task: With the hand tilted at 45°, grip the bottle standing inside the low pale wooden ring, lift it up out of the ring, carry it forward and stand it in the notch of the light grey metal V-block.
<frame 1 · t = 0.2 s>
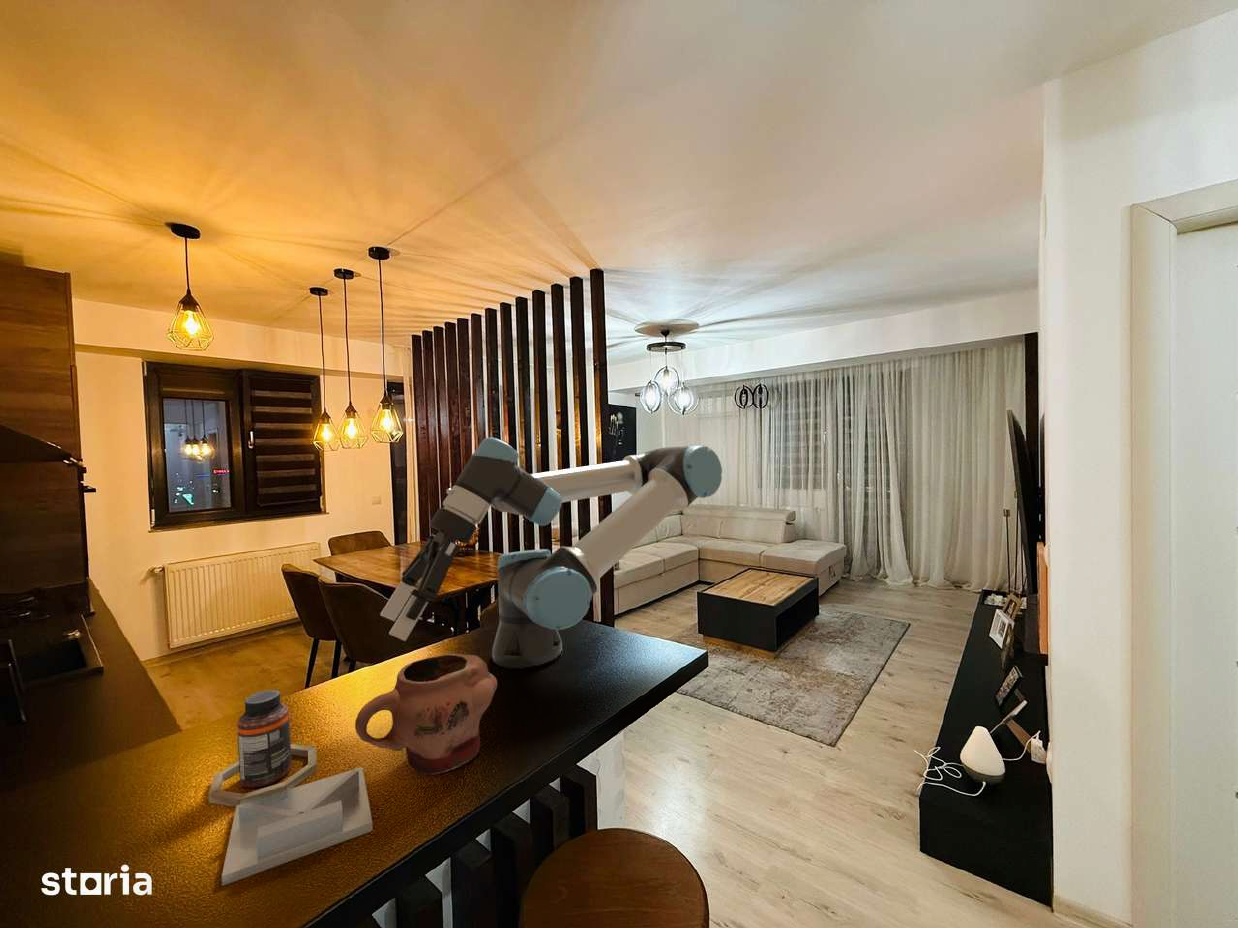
hand: (391, 627, 86), 16 cm above the breakfast bar, tool tilted 35°, fingers open, 13 cm apart
supplement bottle: (266, 777, 71), resting in wooden collar
sculpted ceramic mug: (433, 763, 73), on the breakfast bar
v-block: (302, 816, 62), on the breakfast bar
wooden collar: (266, 776, 71), on the breakfast bar
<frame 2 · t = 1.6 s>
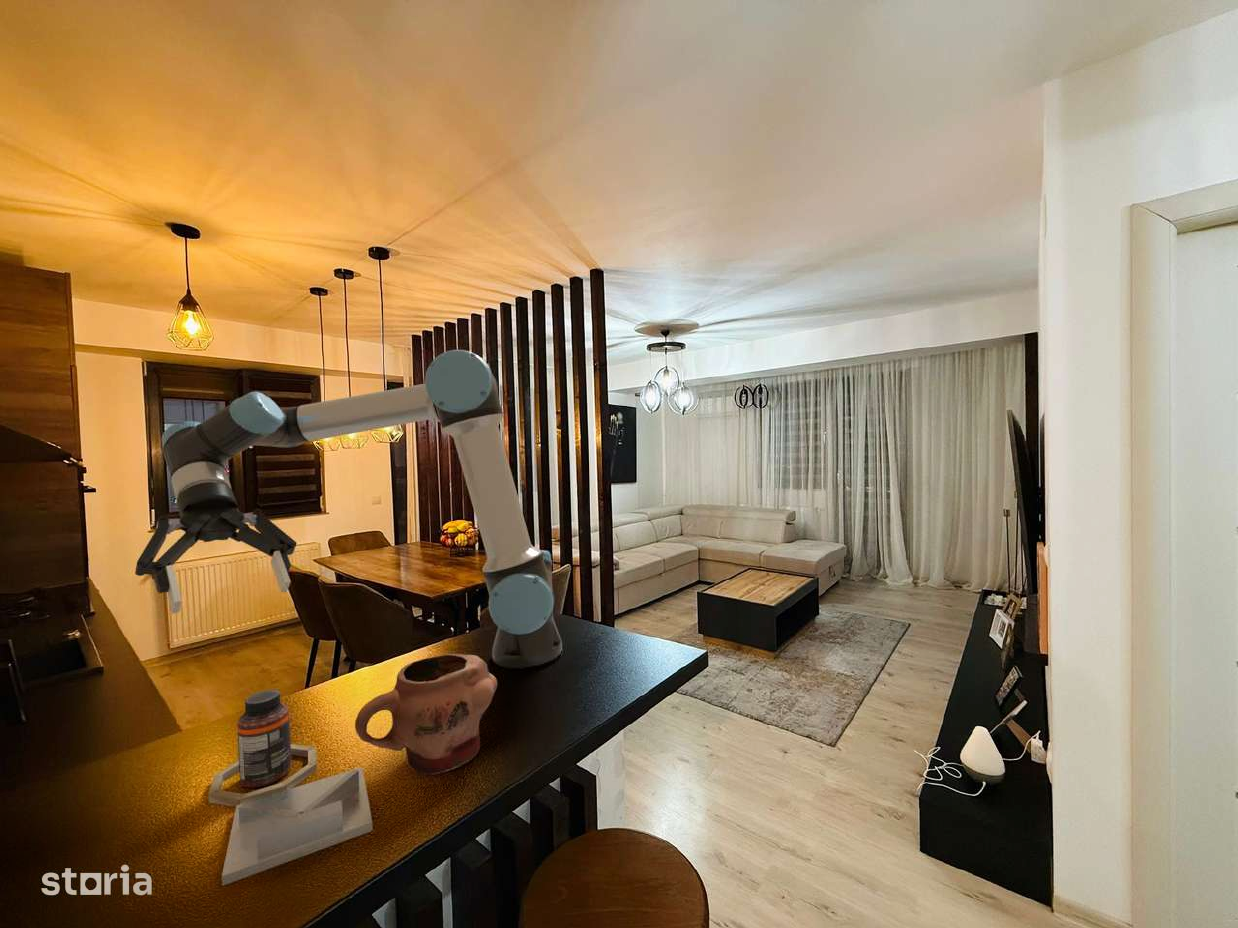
hand: (235, 596, 77), 24 cm above the breakfast bar, tool tilted 45°, fingers open, 13 cm apart
nothing on the breakfast bar moved.
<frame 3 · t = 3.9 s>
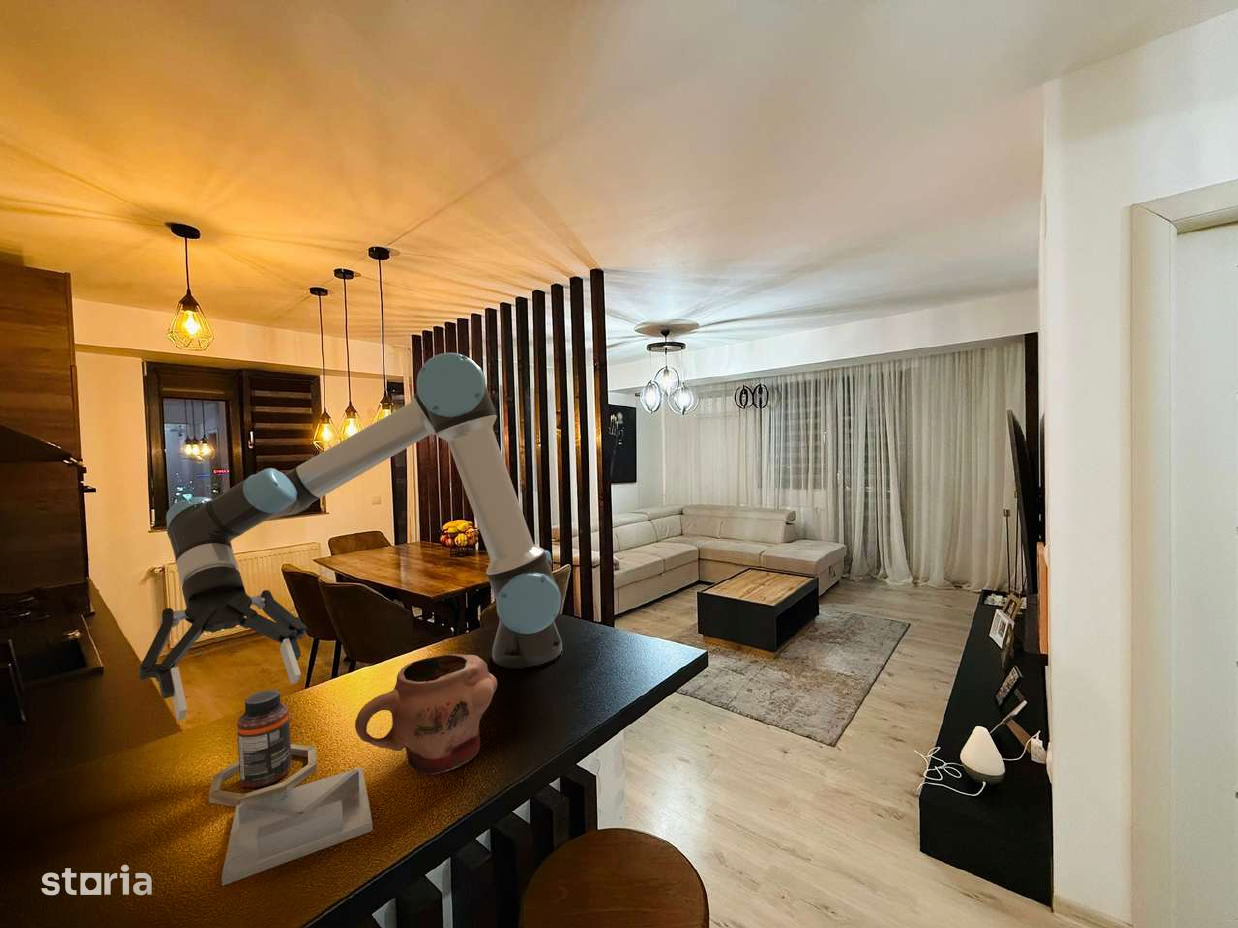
hand: (243, 696, 73), 10 cm above the breakfast bar, tool tilted 45°, fingers open, 13 cm apart
nothing on the breakfast bar moved.
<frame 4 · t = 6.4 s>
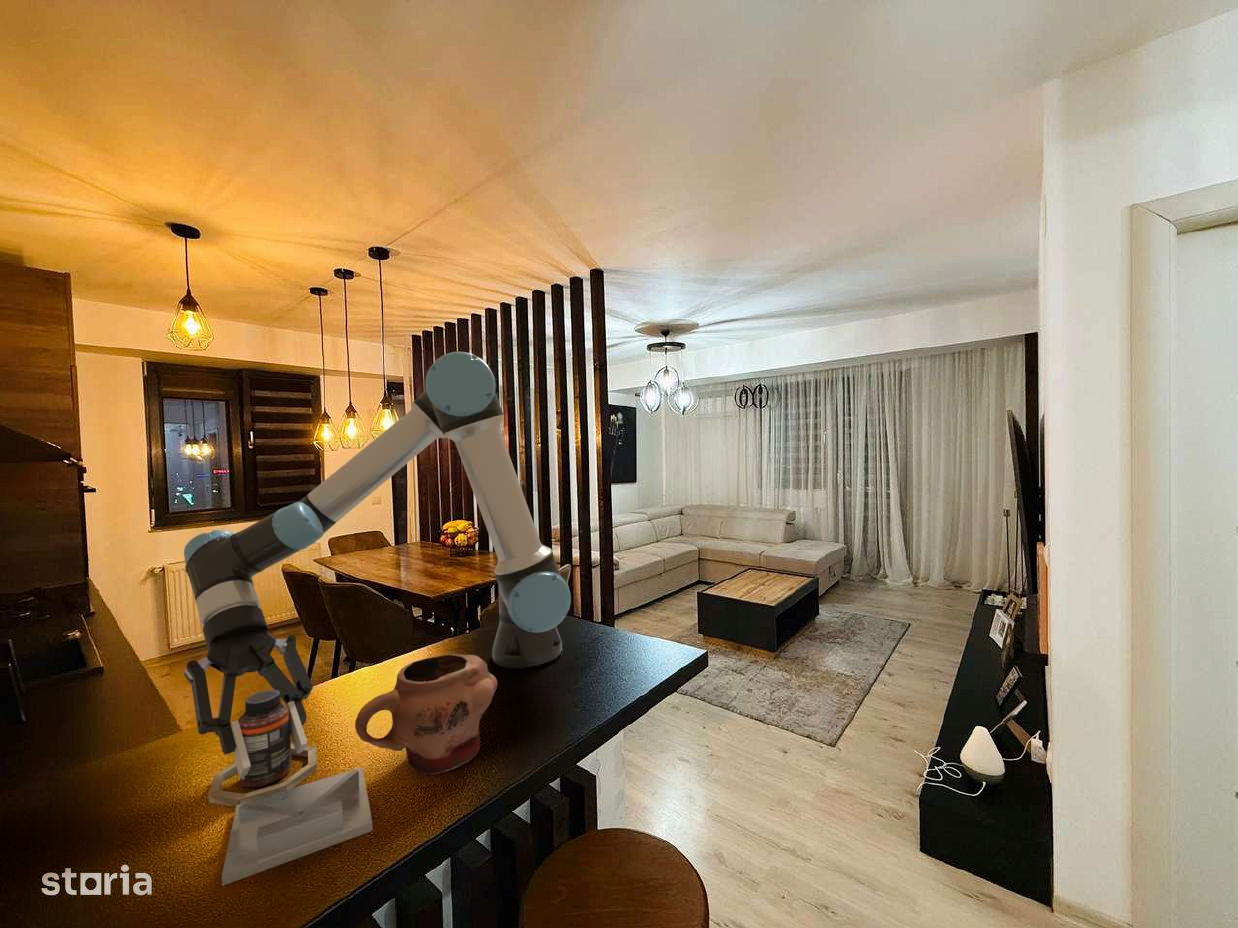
hand: (274, 759, 69), 4 cm above the breakfast bar, tool tilted 45°, fingers closed on supplement bottle, 6 cm apart
supplement bottle: (266, 777, 71), resting in wooden collar, touching gripper
everything else where it was.
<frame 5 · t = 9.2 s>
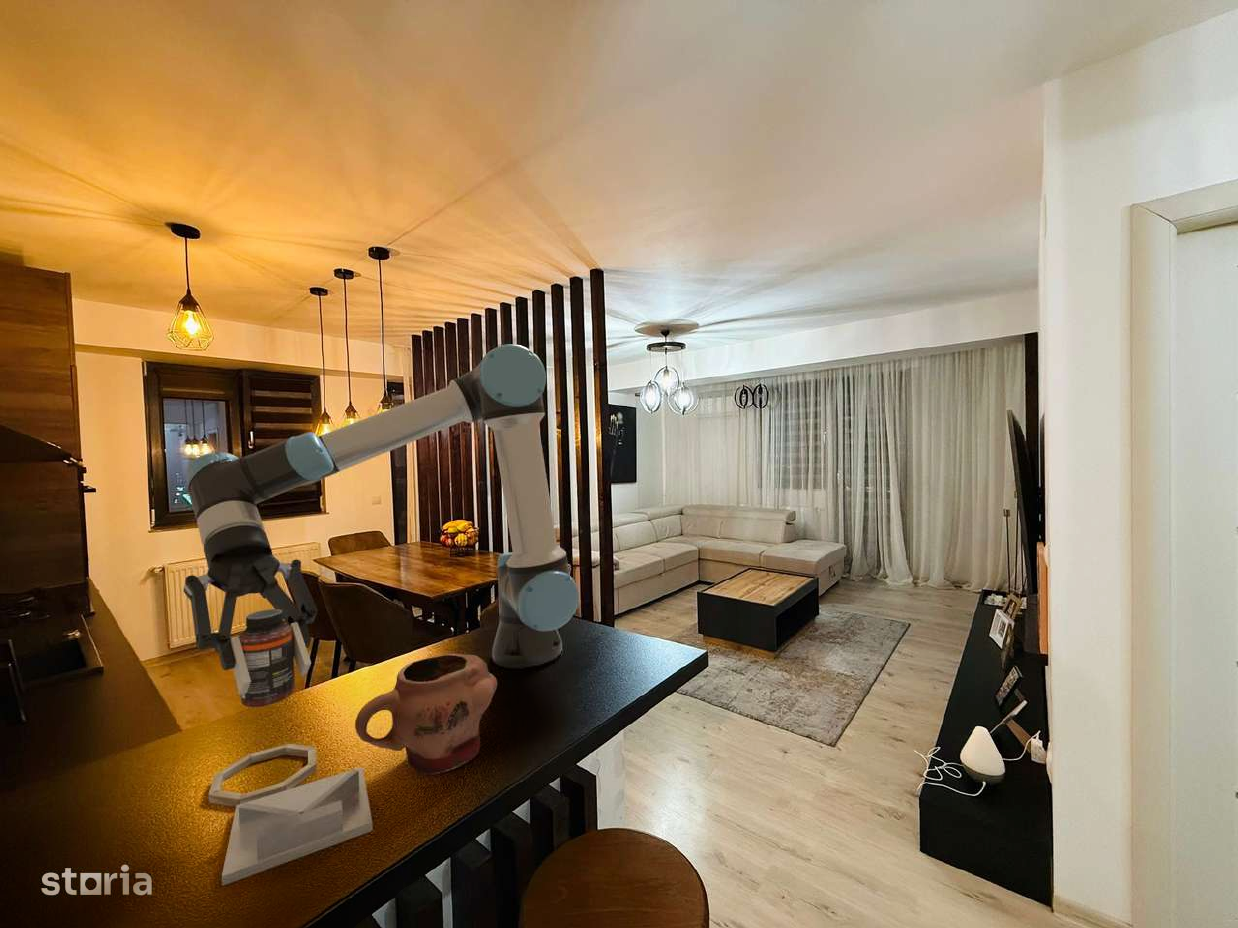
hand: (276, 678, 65), 16 cm above the breakfast bar, tool tilted 45°, fingers closed on supplement bottle, 6 cm apart
supplement bottle: (268, 699, 67), point 12 cm above the breakfast bar, touching gripper
everything else where it was.
when the fingers open (6 cm above the breakfast bar, at t = 12.3 s): supplement bottle drops 2 cm, resting on v-block.
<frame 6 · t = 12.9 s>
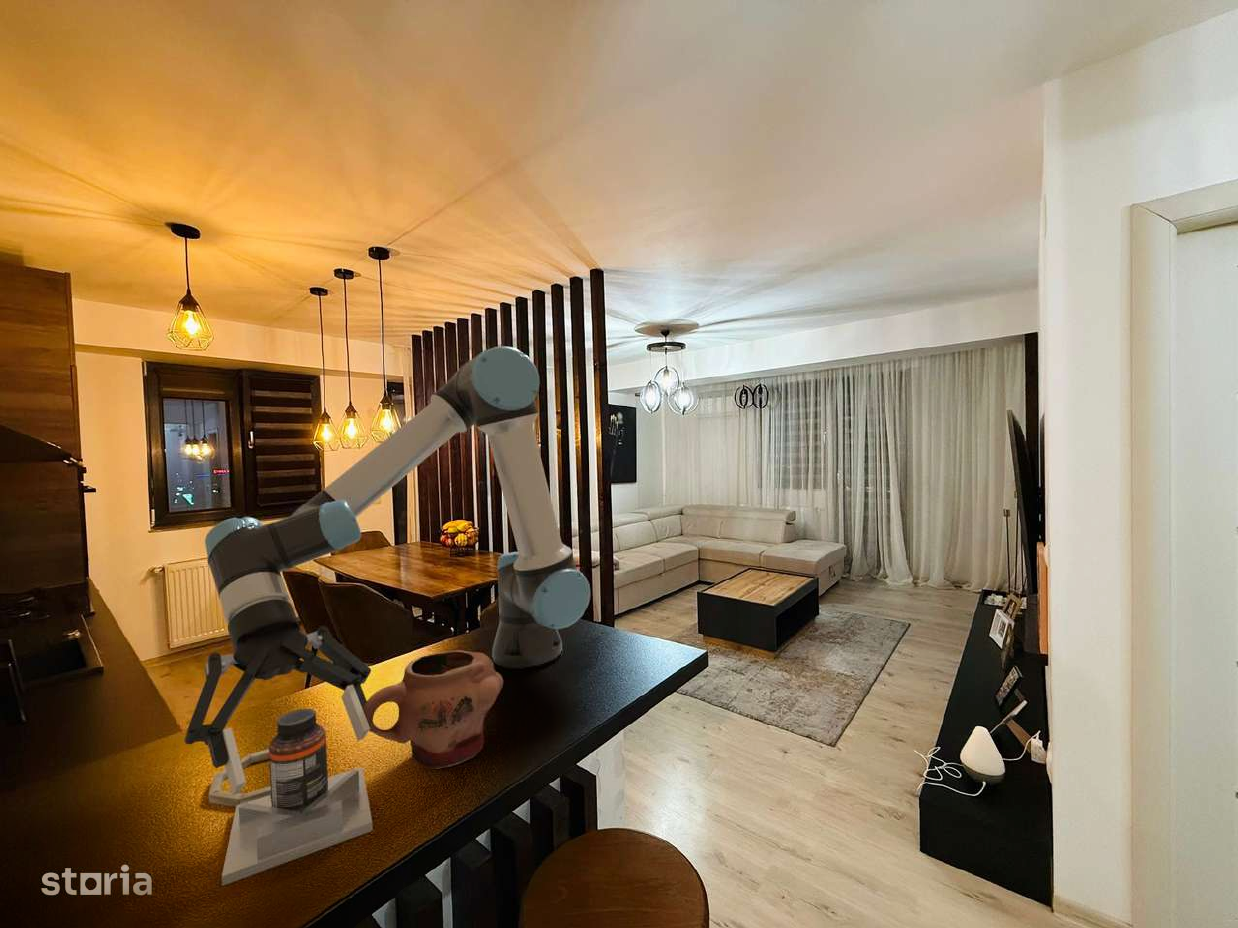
hand: (307, 759, 61), 8 cm above the breakfast bar, tool tilted 45°, fingers open, 13 cm apart
supplement bottle: (300, 808, 63), point 1 cm above the breakfast bar, touching v-block
sculpted ceramic mug: (437, 759, 74), on the breakfast bar, touching gripper
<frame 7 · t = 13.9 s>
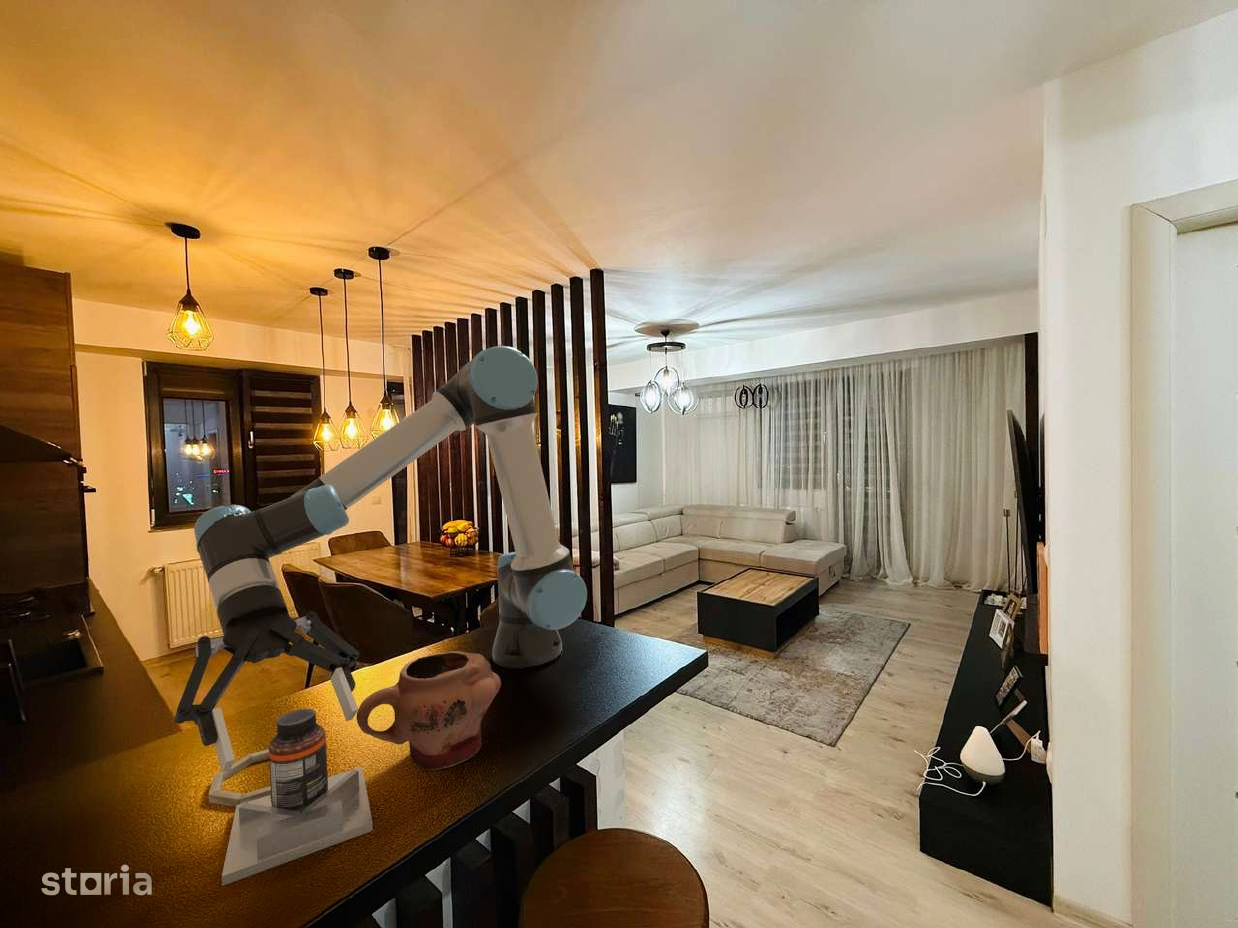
hand: (295, 738, 63), 9 cm above the breakfast bar, tool tilted 45°, fingers open, 13 cm apart
sculpted ceramic mug: (435, 759, 74), on the breakfast bar
everything else where it was.
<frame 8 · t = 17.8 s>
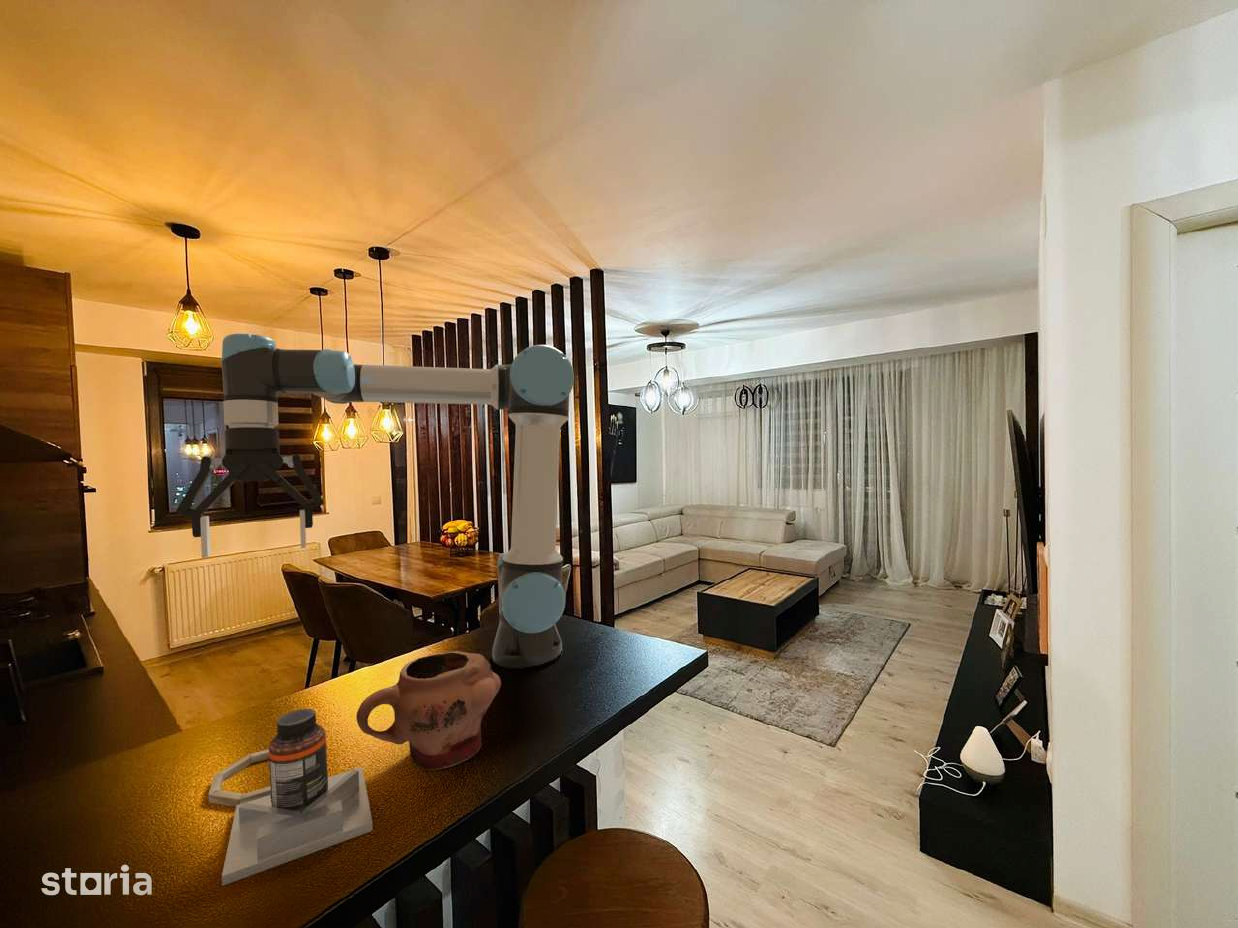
hand: (256, 551, 87), 29 cm above the breakfast bar, tool pointing down, fingers open, 13 cm apart
nothing on the breakfast bar moved.
at the end: supplement bottle 0.3 cm off-centre on the v-block, point 0.8 cm above the v-block's base; supplement bottle tilted 0°; the gripper is holding nothing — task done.
